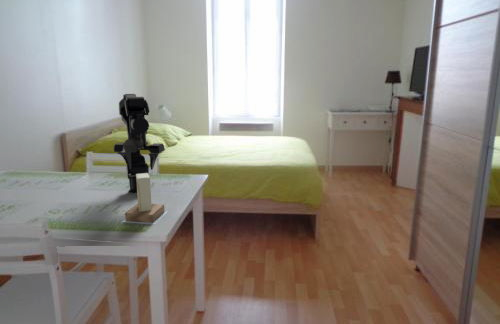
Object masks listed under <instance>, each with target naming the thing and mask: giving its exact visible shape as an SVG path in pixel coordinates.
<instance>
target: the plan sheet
mask: <svg viewBox="0 0 500 324" xmlns="http://www.w3.org/2000/svg"><path fill="white" fill-rule="evenodd" d="M164 211H165V210H164ZM168 212H169V211H168V210H166V211H165V212H164V213H163V214H162V215H161V216H160V217H159V218H158V219H157V220H156V221H155V222H153V223H146V222H130V221H126V220H125V219H124V220H122V221H121V223H126V224H140V225H141V224H143V225H156V224H157V223H158V222H159V221H160V220H162V218H163V217H164V216H165V215H166V214H167V213H168Z"/></svg>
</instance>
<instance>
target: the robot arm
mask: <svg viewBox="0 0 500 324" xmlns="http://www.w3.org/2000/svg"><path fill="white" fill-rule="evenodd" d="M122 97H123V98H122V99H121V100H120V101H118V112H119V113H118V114H119V116H120V117H121V121H122V122H123V123H124V124H125V126H126V132H127V133H126V134H127V139H125V141H124V142H119V143H115V144H114V145H113V152H115V153H117V155H120V156H121V157H122V159H123V160H124V162H125V164H126V167H125V168H126V169H125V172H126V177H127V180H129V190H128V193H137V181H136V174H142V173H148V174H149V175H150V173H149V171H152V170H153V169H154V167H155V163H156V161H157V159H158V156H159V155H160V154H161V153H162V152H164V151H165V145H164V144H163V143H152V144H150V145H149V142H148V141H147V135H148V131H149V127H150V124H149V121H148V119H146V118H145V117H146V116H149V114H150V107H149V103H148V101H147V99H145V97H144V96H137V95H136V94H134V93H125V94H123V95H122ZM141 151H149V153H148V156H149V164H148V163H147V162H146V158H145V156H144V155H143V154H141Z"/></svg>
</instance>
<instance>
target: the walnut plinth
mask: <svg viewBox="0 0 500 324" xmlns="http://www.w3.org/2000/svg"><path fill="white" fill-rule="evenodd" d="M151 205H152V210H151V211H143V212H139V208H138V203H136V204H135V205H133V206H132V207H131V208H129V210H127V211H125V212H124V218H125V219H124V220H126V221H130V222H146V223H153V222H155V221H156V220H157V219H158V218H159V217H160V216H161V215H162V214H163V213H164V212H165V204H164V203H163V204H161V203H151Z"/></svg>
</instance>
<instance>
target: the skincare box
mask: <svg viewBox="0 0 500 324" xmlns="http://www.w3.org/2000/svg"><path fill="white" fill-rule="evenodd" d="M136 181H137V192H136V193H137V204H138V208H139V212H143V211H151V210H152V205H151V204H152V189H151V177H150V173H149V174H148V173H142V174H136Z"/></svg>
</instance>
